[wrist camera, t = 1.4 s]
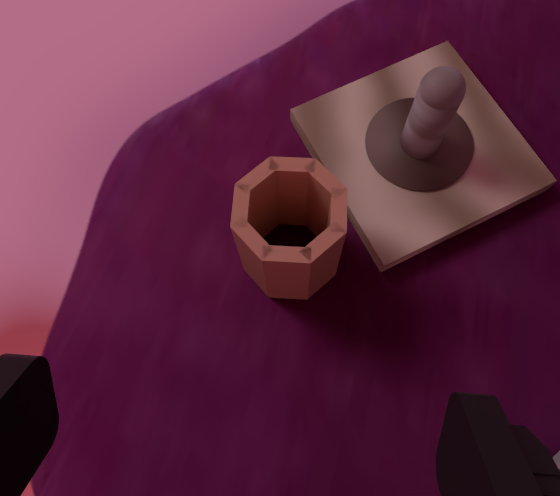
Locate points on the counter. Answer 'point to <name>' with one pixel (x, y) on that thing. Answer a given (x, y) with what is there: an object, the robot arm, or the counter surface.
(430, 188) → the post stand
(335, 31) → the counter surface
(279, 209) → the collar
